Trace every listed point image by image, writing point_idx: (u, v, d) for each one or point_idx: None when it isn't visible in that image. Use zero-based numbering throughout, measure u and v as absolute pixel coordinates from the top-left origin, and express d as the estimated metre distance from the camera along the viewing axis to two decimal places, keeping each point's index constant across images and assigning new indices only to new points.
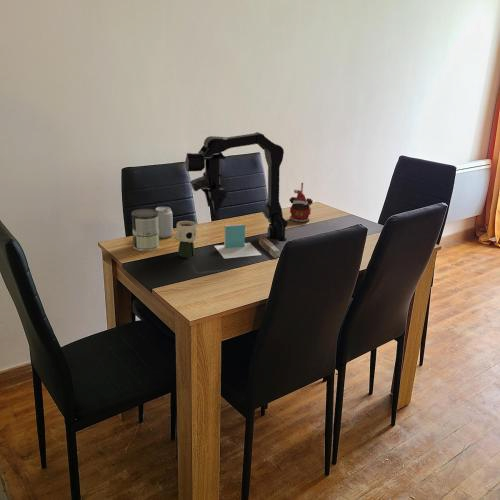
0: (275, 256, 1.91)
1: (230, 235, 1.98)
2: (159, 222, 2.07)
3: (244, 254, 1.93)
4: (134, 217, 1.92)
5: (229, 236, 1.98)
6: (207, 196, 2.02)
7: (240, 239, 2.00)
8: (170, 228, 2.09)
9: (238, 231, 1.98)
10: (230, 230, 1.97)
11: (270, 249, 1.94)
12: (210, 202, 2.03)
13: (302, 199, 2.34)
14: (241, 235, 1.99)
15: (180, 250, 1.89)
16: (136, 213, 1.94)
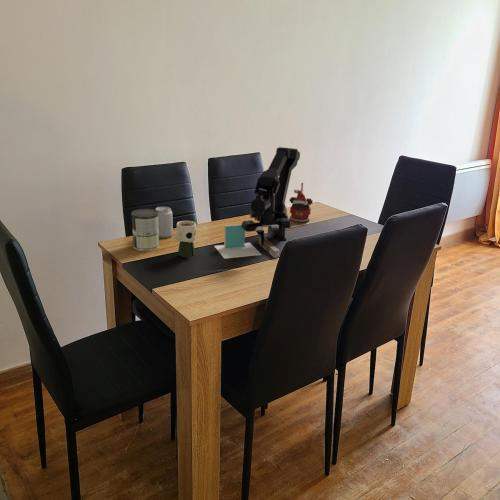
0: (275, 256, 1.91)
1: (230, 235, 1.98)
2: (159, 222, 2.07)
3: (244, 254, 1.93)
4: (134, 217, 1.92)
5: (229, 236, 1.98)
6: (268, 234, 2.02)
7: (240, 239, 2.00)
8: (170, 228, 2.09)
9: (238, 231, 1.98)
10: (230, 230, 1.97)
11: (270, 249, 1.94)
12: None
13: (302, 199, 2.34)
14: (241, 235, 1.99)
15: (180, 250, 1.89)
16: (136, 213, 1.94)
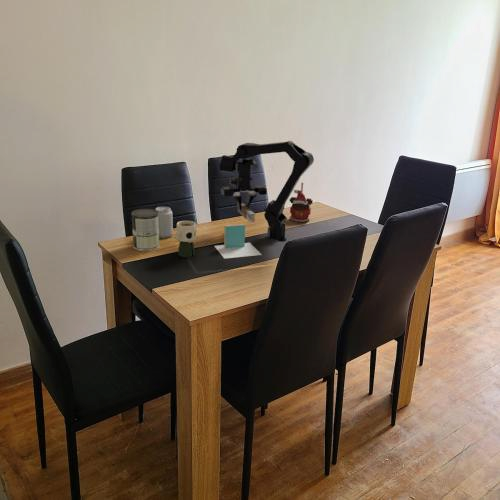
0: (251, 219, 2.05)
1: (230, 235, 1.98)
2: (159, 222, 2.07)
3: (244, 254, 1.93)
4: (134, 217, 1.92)
5: (229, 236, 1.98)
6: (246, 200, 2.15)
7: (240, 239, 2.00)
8: (170, 228, 2.09)
9: (238, 231, 1.98)
10: (230, 230, 1.97)
11: (247, 213, 2.08)
12: None
13: (302, 199, 2.34)
14: (241, 235, 1.99)
15: (180, 250, 1.89)
16: (136, 213, 1.94)
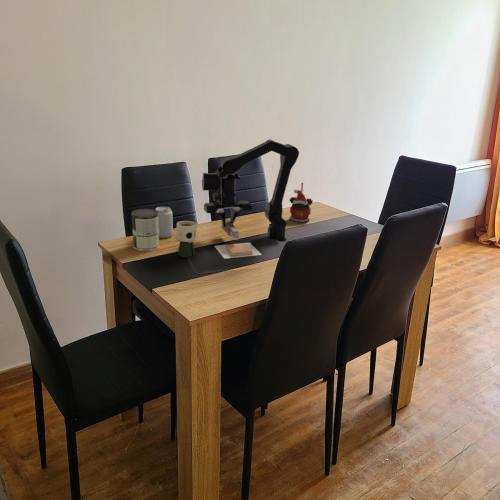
0: (235, 237, 1.97)
1: None
2: (159, 222, 2.07)
3: None
4: (134, 217, 1.92)
5: None
6: (230, 216, 2.07)
7: None
8: (170, 228, 2.09)
9: None
10: None
11: (230, 230, 2.00)
12: None
13: (302, 199, 2.34)
14: None
15: (180, 250, 1.89)
16: (136, 213, 1.94)
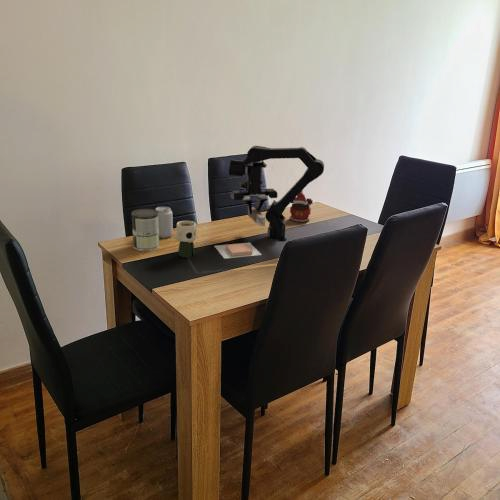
0: (261, 223, 2.01)
1: None
2: (159, 222, 2.07)
3: None
4: (134, 217, 1.92)
5: None
6: None
7: None
8: (170, 228, 2.09)
9: None
10: None
11: (257, 217, 2.04)
12: None
13: (302, 199, 2.34)
14: None
15: (180, 250, 1.89)
16: (136, 213, 1.94)
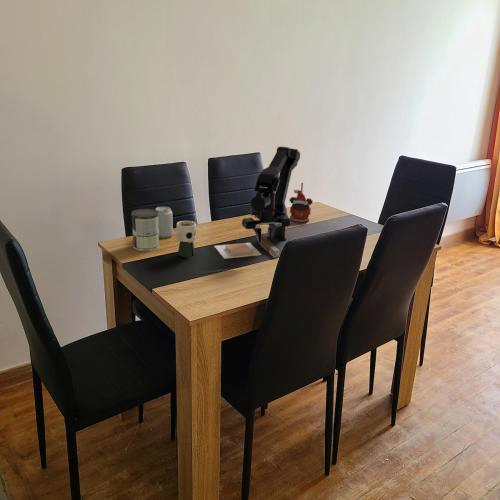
0: (275, 256, 1.91)
1: None
2: (159, 222, 2.07)
3: None
4: (134, 217, 1.92)
5: None
6: (271, 231, 2.02)
7: None
8: (170, 228, 2.09)
9: None
10: None
11: (270, 249, 1.94)
12: (271, 238, 2.01)
13: (302, 199, 2.34)
14: None
15: (180, 250, 1.89)
16: (136, 213, 1.94)
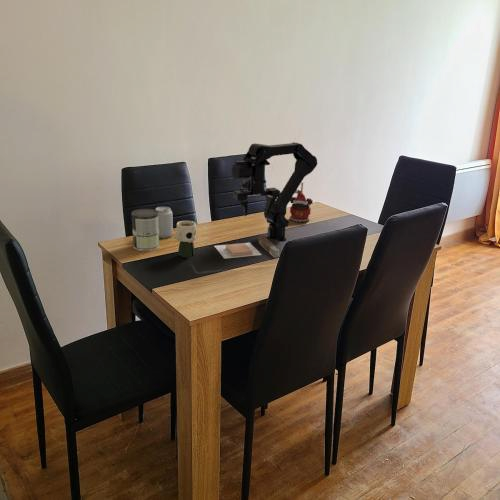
0: (275, 256, 1.91)
1: None
2: (159, 222, 2.07)
3: None
4: (134, 217, 1.92)
5: None
6: (266, 203, 2.05)
7: None
8: (170, 228, 2.09)
9: None
10: None
11: (270, 249, 1.94)
12: (266, 210, 2.05)
13: (302, 199, 2.34)
14: None
15: (180, 250, 1.89)
16: (136, 213, 1.94)
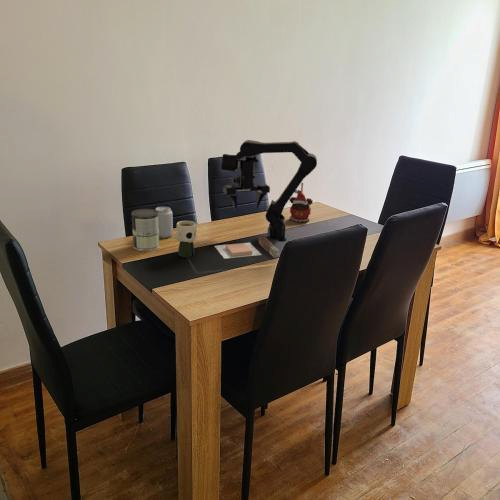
0: (275, 256, 1.91)
1: None
2: (159, 222, 2.07)
3: None
4: (134, 217, 1.92)
5: None
6: (256, 198, 2.12)
7: None
8: (170, 228, 2.09)
9: None
10: None
11: (270, 249, 1.94)
12: (256, 204, 2.12)
13: (302, 199, 2.34)
14: None
15: (180, 250, 1.89)
16: (136, 213, 1.94)
